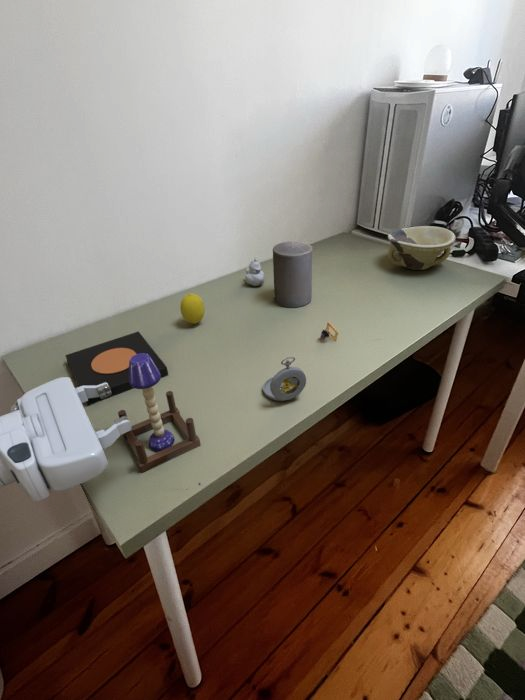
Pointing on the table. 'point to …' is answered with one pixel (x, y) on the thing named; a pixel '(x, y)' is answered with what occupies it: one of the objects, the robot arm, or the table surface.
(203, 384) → the table surface
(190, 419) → the rack
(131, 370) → the toy lamp
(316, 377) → the table surface
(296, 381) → the pocket watch
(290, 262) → the pillar candle
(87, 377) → the stove
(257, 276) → the rubber duck
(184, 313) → the lemon
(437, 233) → the bowl
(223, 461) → the table surface
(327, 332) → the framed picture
